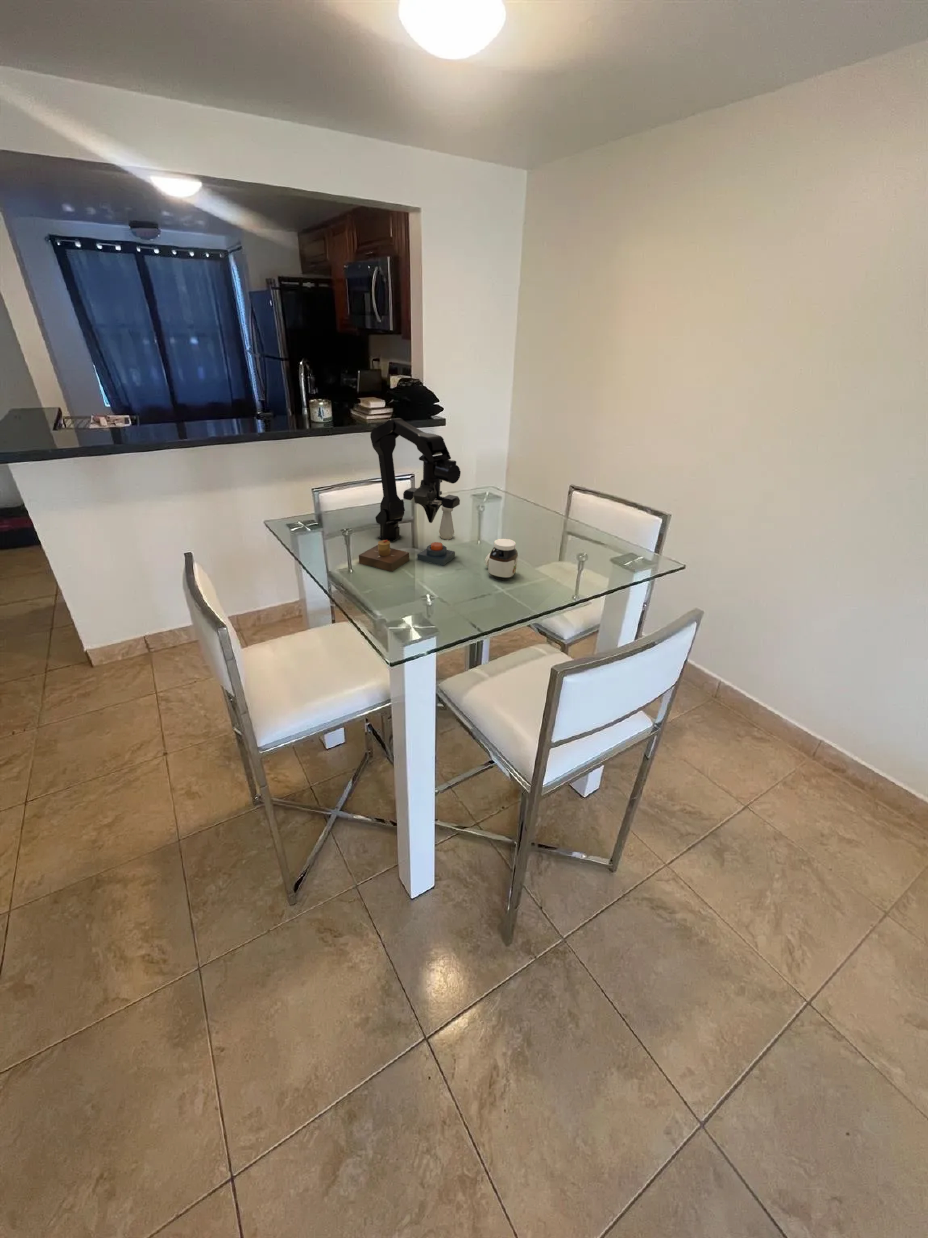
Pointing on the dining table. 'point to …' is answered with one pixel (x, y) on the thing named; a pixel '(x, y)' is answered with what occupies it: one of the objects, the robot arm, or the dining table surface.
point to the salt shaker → (446, 524)
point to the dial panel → (384, 559)
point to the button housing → (436, 555)
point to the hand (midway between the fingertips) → (430, 522)
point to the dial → (384, 548)
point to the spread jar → (502, 559)
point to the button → (436, 546)
